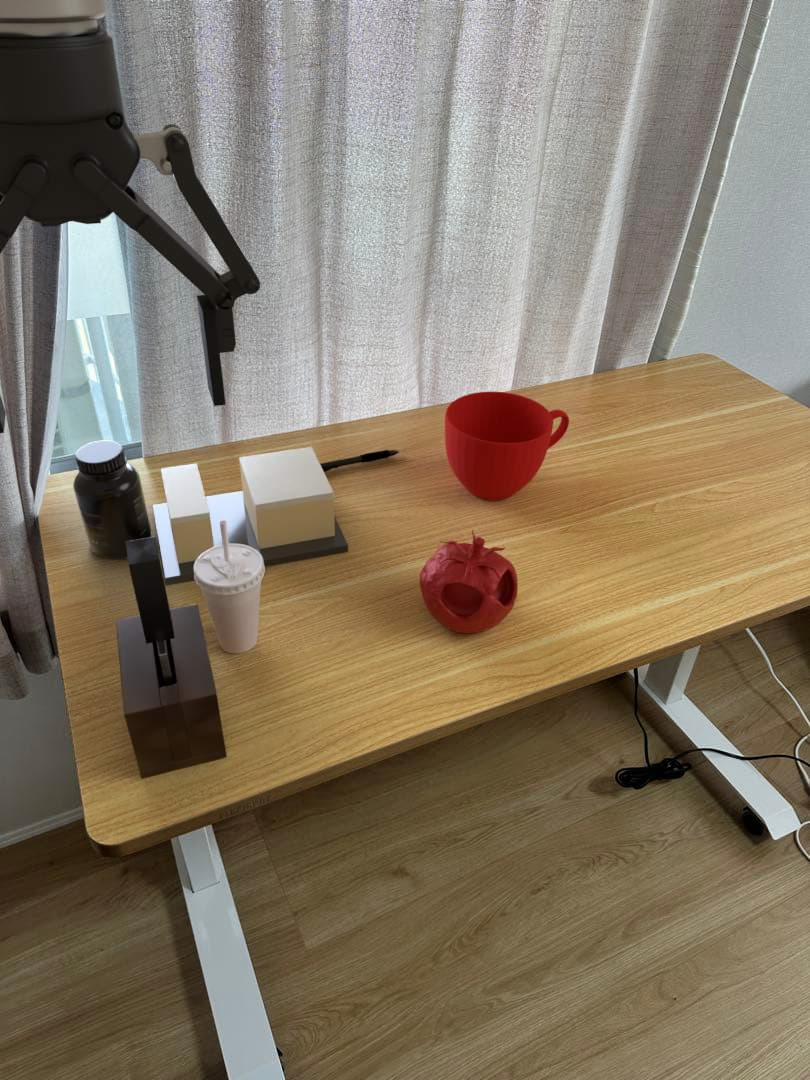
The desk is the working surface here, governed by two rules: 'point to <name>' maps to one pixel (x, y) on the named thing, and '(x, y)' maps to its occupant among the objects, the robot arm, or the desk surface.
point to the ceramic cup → (498, 441)
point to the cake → (287, 497)
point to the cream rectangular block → (187, 511)
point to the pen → (359, 459)
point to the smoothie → (231, 591)
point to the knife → (152, 598)
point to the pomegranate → (468, 586)
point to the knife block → (169, 696)
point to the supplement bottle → (110, 499)
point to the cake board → (237, 538)
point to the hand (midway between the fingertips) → (111, 410)
